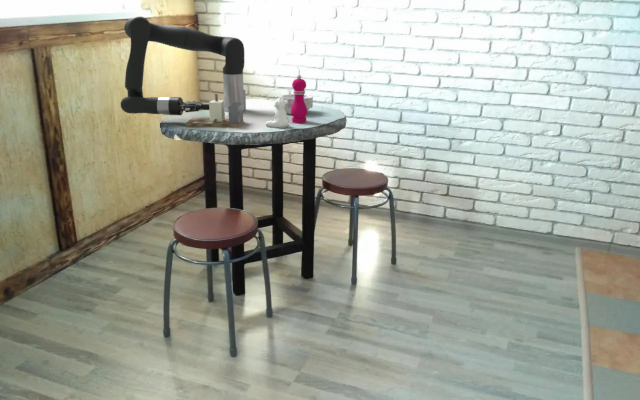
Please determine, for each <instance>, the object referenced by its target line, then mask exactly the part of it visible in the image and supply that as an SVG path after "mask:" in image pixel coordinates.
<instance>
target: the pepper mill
mask: <svg viewBox="0 0 640 400" xmlns="http://www.w3.org/2000/svg"><path fill="white" fill-rule="evenodd" d="M291 83H292V84H291V87H292V88H293V93H292V94H294V96H295V99H294V103H293V105H292V108H291V114H290V115H291V116H292V117H291V123H294V124H305V123H307V117H306V116H307V115H308V112H309V111H308V112H307V107H306V105H305V102H304V95H306V88H307V81H306V80H305V79H303V78H302V75H301V74H298V75H297V76H296V78H295V79H294V80H293V81H292V82H291Z"/></svg>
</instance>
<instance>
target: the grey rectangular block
mask: <svg viewBox="0 0 640 400" xmlns="http://www.w3.org/2000/svg"><path fill="white" fill-rule="evenodd" d="M228 119H229V124H239V123H240V122H241V121H242V120H244V111H243V103H232V104H231V105H230V106H229V107H228Z"/></svg>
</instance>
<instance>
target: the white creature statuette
mask: <svg viewBox="0 0 640 400" xmlns="http://www.w3.org/2000/svg"><path fill="white" fill-rule="evenodd" d="M286 103H288V100H285V101H284V99H283V98H280V97H279V98H277V99H276V100H275V102H274V108H275V112H274V119H273V120H268V121H266V122H265V126H266V127H267V128H276V129H286V128H287V127H289V123H290V120H289V118H288V115H287V114H288V113H286V111H285V110H284V108H285V104H286Z"/></svg>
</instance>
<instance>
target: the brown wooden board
mask: <svg viewBox="0 0 640 400" xmlns="http://www.w3.org/2000/svg"><path fill="white" fill-rule="evenodd" d="M243 123H244V119H243V120H242V121H241V122H240V123H239V124H229V118H225V120H223V121H222V122H210V117H191V119H189V120H188V121H186V122H185V126H186V127H209V128H210V127H214V128H215V127H217V128H218V127H219V128H239V127H240V126H241V125H242V124H243Z"/></svg>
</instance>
